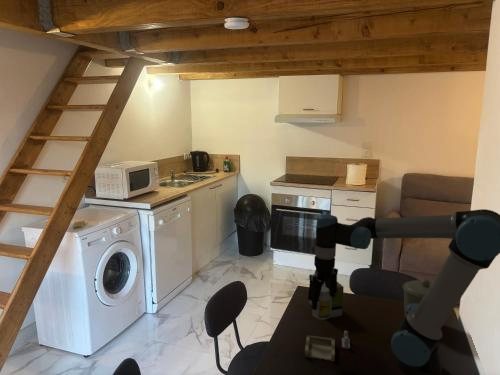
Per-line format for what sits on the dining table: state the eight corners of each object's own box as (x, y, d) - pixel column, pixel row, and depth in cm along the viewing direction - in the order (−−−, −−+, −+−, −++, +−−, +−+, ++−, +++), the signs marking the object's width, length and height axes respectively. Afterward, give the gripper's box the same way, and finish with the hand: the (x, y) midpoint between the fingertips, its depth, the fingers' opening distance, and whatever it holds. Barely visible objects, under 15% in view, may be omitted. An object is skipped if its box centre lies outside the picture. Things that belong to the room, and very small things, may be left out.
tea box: (308, 304, 184) (309, 275, 181) (326, 301, 187) (328, 273, 184) (323, 319, 170) (324, 288, 167) (342, 316, 173) (344, 286, 170)
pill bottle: (311, 317, 142) (312, 290, 140) (316, 310, 147) (317, 284, 146) (327, 321, 139) (328, 293, 137) (331, 314, 145) (333, 287, 143)
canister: (402, 332, 160) (407, 285, 157) (396, 312, 178) (400, 269, 174) (448, 338, 156) (454, 290, 153) (438, 317, 173) (442, 274, 170)
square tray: (306, 340, 152) (306, 335, 152) (334, 344, 150) (334, 338, 149) (304, 356, 141) (304, 350, 141) (334, 361, 139) (334, 354, 139)
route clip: (349, 340, 153) (349, 331, 153) (349, 349, 147) (350, 339, 146) (341, 339, 154) (342, 330, 153) (342, 347, 148) (342, 338, 147)
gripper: (333, 248, 148) (330, 303, 152) (299, 258, 137) (296, 317, 140) (349, 254, 142) (345, 310, 146) (314, 264, 131) (311, 326, 134)
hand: (321, 314), depth 143 cm, fingers closed on pill bottle, 6 cm apart
